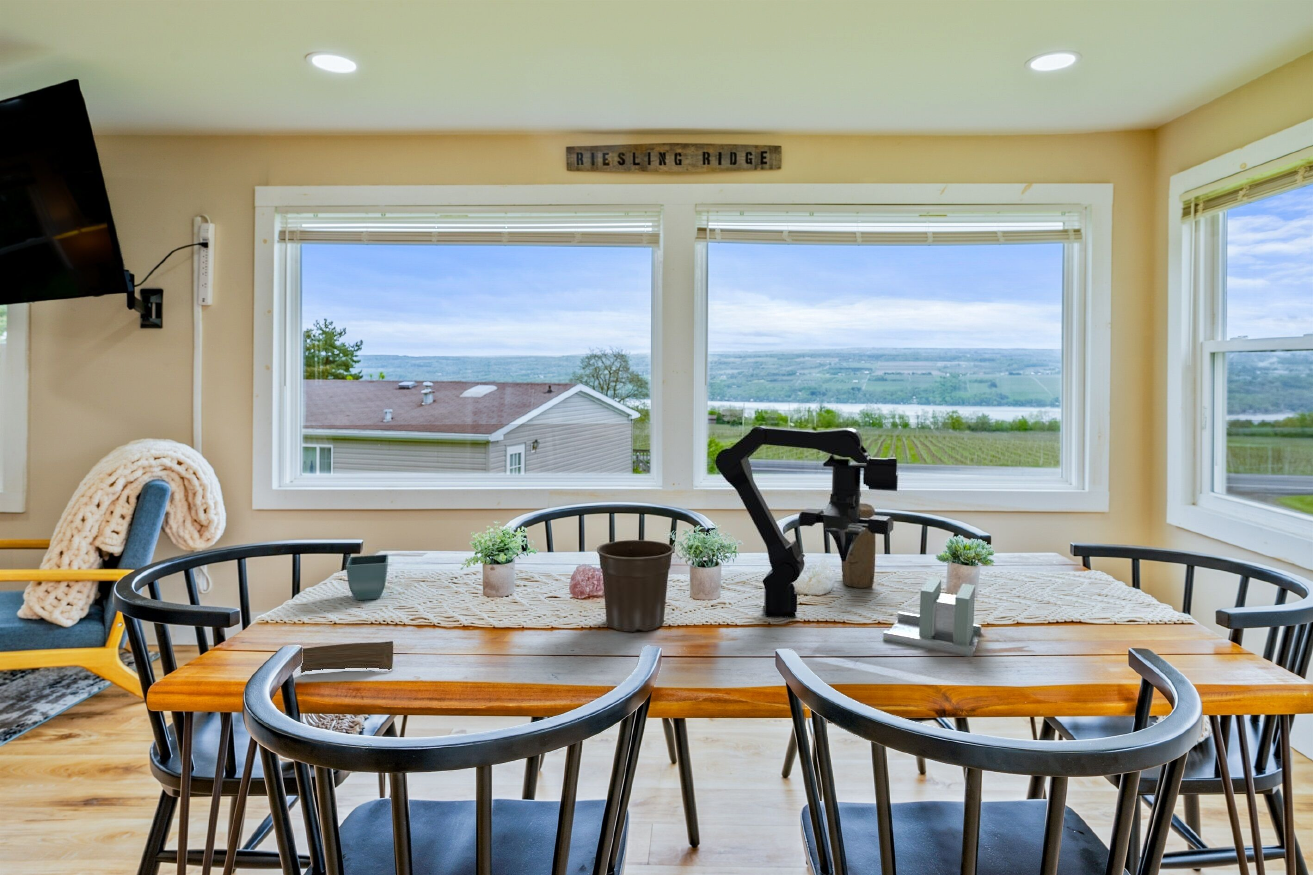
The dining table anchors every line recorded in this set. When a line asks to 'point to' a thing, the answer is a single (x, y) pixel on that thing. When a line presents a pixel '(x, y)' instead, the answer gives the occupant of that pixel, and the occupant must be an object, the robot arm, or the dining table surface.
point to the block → (861, 556)
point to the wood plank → (348, 656)
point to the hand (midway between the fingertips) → (844, 561)
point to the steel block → (944, 617)
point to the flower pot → (367, 576)
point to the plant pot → (635, 583)
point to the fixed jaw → (964, 615)
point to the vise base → (908, 634)
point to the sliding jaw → (928, 607)
